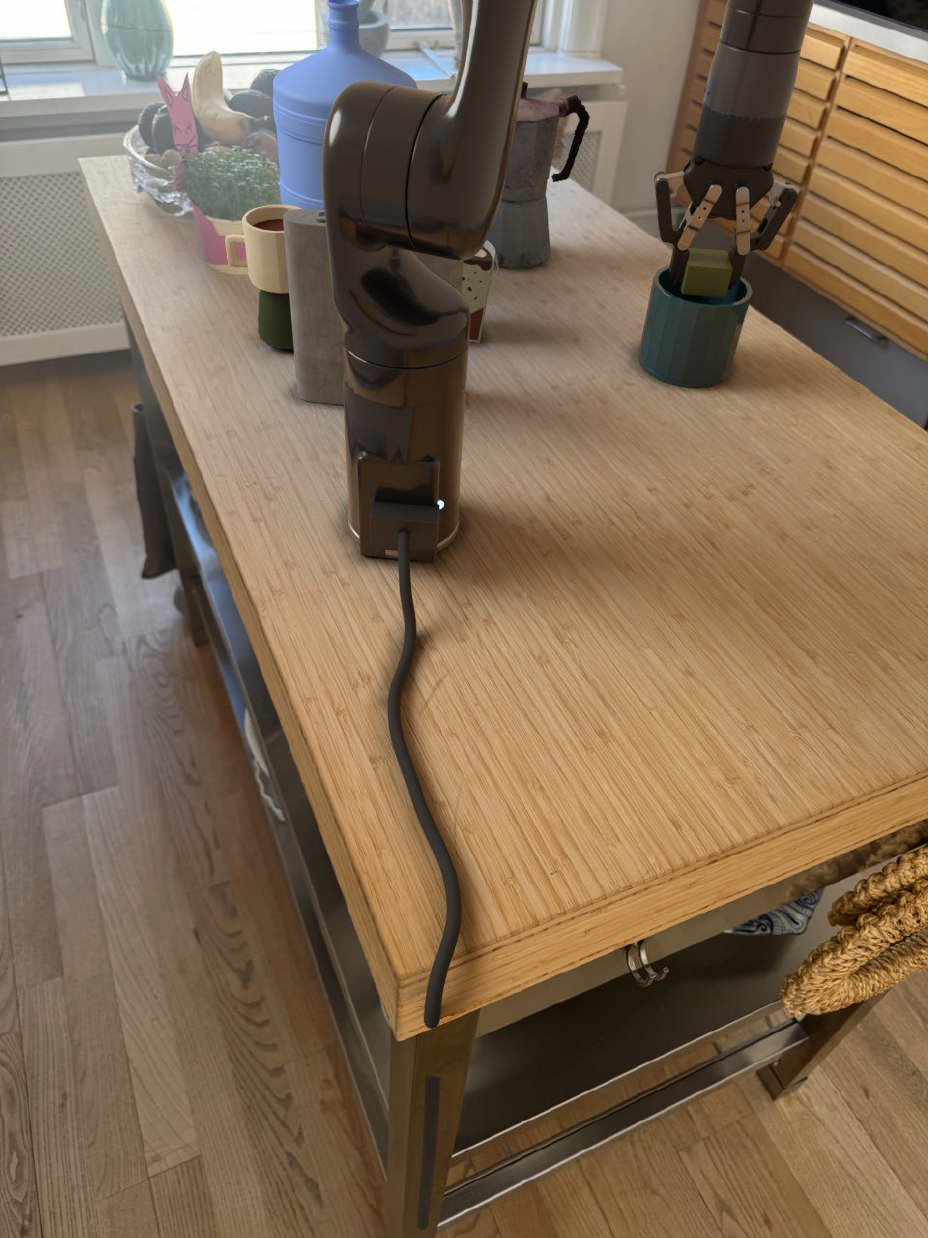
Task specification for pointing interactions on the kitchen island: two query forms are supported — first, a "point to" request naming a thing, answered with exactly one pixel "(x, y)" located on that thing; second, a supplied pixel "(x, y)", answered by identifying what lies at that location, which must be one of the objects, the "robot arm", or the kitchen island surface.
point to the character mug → (266, 270)
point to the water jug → (320, 102)
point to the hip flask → (324, 305)
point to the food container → (478, 286)
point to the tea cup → (691, 333)
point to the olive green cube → (707, 273)
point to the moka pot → (532, 180)
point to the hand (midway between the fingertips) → (702, 283)
